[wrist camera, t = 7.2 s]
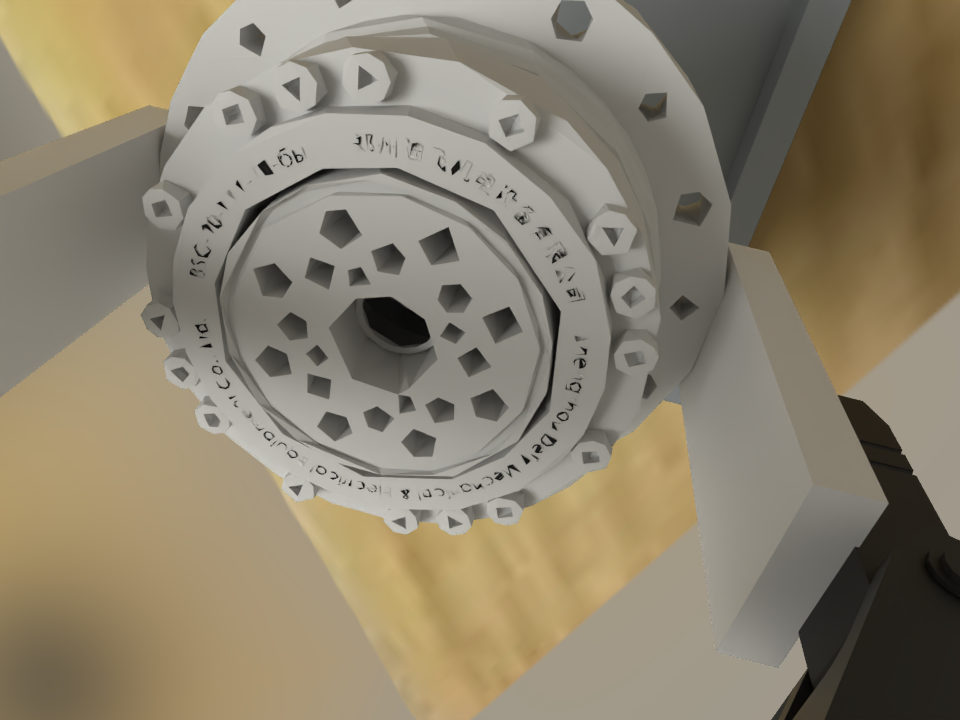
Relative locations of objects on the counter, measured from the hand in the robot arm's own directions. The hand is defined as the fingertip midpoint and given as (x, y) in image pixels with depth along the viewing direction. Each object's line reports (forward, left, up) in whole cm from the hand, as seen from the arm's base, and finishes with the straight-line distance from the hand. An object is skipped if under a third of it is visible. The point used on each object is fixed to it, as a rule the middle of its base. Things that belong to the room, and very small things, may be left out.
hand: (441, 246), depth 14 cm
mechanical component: (0, 0, -1) cm, 1 cm away
